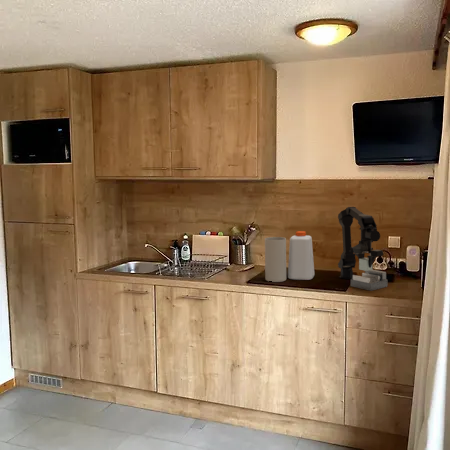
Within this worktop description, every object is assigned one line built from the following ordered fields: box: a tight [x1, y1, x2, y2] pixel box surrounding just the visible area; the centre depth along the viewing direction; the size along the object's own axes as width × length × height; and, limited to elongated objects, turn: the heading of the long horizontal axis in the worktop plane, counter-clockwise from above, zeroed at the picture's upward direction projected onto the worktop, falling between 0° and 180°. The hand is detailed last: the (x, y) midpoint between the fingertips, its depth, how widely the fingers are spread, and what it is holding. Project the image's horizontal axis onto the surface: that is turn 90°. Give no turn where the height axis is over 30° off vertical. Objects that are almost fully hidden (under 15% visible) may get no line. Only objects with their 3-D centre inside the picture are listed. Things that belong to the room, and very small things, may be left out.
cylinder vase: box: [264, 236, 287, 283], centre depth 298 cm, size 12×12×25 cm
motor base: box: [350, 269, 388, 292], centre depth 278 cm, size 14×14×8 cm
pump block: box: [358, 257, 373, 272], centre depth 276 cm, size 5×5×6 cm
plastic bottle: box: [287, 230, 315, 281], centre depth 303 cm, size 15×15×28 cm
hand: (365, 266), depth 276 cm, fingers closed on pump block, 5 cm apart
